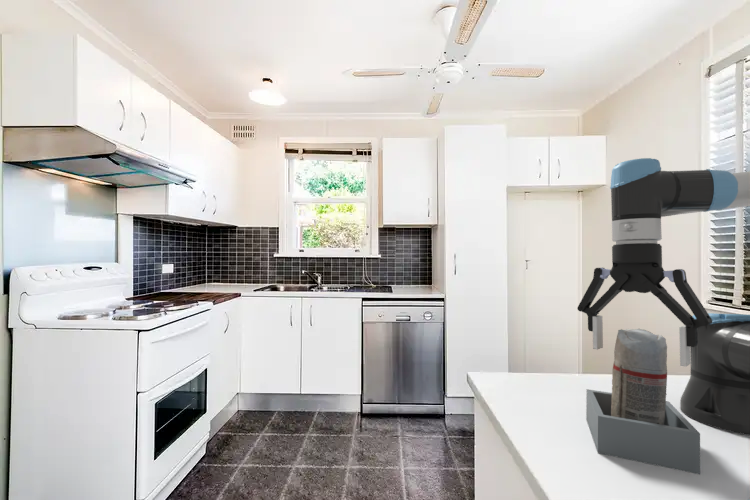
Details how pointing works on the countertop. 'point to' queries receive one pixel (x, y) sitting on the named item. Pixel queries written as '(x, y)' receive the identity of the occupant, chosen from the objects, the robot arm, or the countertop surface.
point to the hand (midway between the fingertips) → (637, 356)
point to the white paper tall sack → (639, 376)
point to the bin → (643, 436)
